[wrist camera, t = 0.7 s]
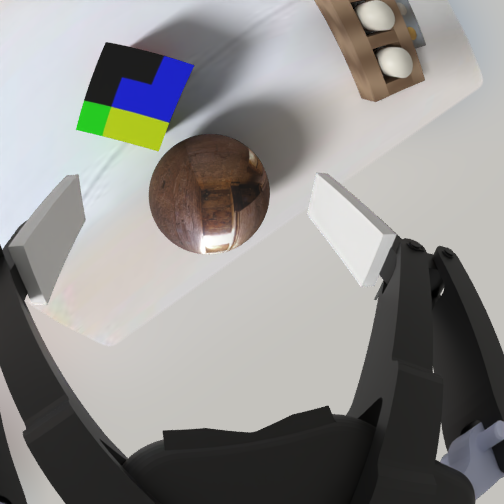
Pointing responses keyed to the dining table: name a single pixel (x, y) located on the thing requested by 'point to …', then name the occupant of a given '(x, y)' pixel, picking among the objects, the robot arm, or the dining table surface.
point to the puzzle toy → (133, 95)
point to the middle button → (375, 15)
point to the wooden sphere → (209, 194)
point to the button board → (374, 45)
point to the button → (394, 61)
